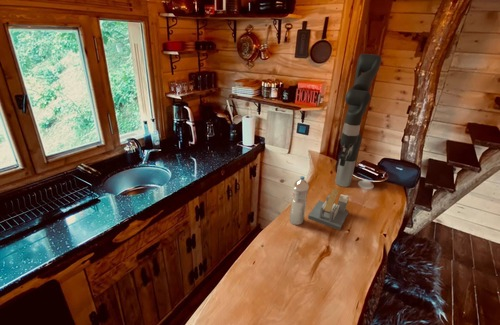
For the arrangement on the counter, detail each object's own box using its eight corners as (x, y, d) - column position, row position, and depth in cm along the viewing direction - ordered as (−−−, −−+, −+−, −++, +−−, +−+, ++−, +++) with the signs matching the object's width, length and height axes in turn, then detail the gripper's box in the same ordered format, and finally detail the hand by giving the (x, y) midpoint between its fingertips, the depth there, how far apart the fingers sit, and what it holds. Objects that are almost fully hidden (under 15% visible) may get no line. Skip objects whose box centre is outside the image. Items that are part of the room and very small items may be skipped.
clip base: (318, 203, 150) (320, 191, 147) (348, 213, 143) (351, 200, 139) (307, 218, 138) (310, 205, 134) (339, 230, 130) (342, 216, 127)
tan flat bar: (332, 189, 140) (332, 188, 139) (338, 191, 138) (338, 190, 138) (323, 211, 134) (323, 210, 133) (329, 213, 132) (329, 212, 131)
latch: (340, 198, 141) (341, 193, 140) (347, 200, 140) (349, 195, 138) (338, 200, 139) (339, 195, 138) (346, 203, 137) (347, 198, 136)
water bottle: (292, 215, 140) (298, 172, 129) (305, 220, 136) (312, 176, 125) (287, 222, 134) (292, 178, 123) (300, 227, 131) (307, 182, 120)
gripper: (346, 126, 138) (340, 155, 146) (338, 134, 128) (332, 165, 135) (362, 129, 135) (355, 159, 142) (355, 138, 124) (348, 170, 131)
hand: (344, 162), depth 139 cm, fingers open, 8 cm apart
